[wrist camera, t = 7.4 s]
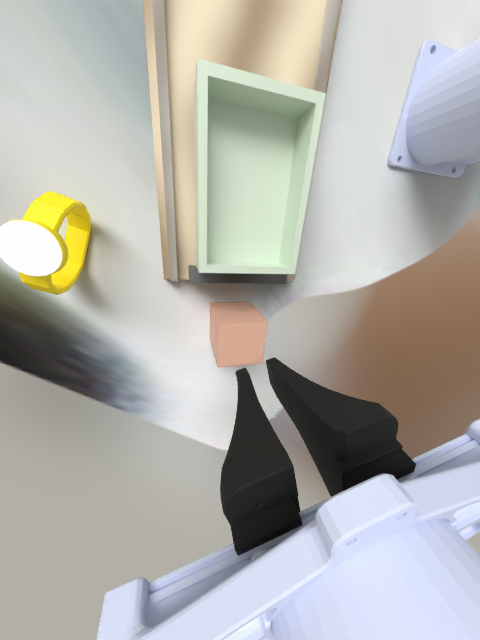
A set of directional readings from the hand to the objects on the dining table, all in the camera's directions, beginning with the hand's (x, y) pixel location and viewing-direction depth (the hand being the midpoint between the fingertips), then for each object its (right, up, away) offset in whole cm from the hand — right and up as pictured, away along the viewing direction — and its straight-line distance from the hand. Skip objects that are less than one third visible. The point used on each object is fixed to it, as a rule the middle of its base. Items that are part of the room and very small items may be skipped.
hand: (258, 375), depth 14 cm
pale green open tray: (-1, +13, +2) cm, 14 cm away
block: (-2, +4, +8) cm, 9 cm away
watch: (-13, +10, +2) cm, 17 cm away
